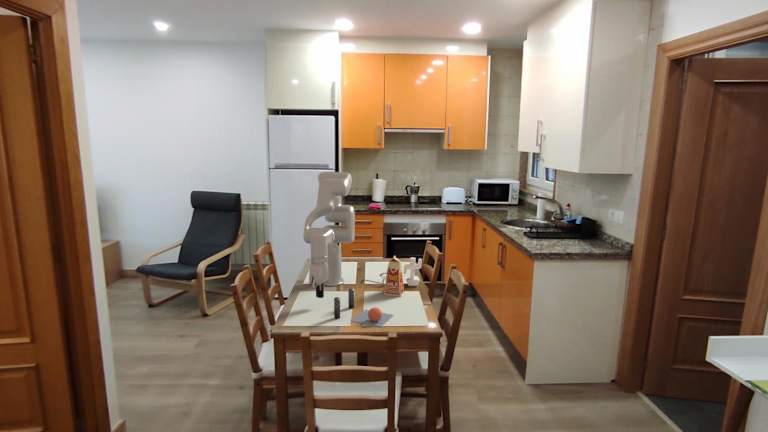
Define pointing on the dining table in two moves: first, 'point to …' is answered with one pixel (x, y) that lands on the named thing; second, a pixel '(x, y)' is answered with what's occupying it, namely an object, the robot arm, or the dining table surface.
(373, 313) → the ball
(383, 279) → the sunglasses
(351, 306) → the post
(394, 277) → the milk carton
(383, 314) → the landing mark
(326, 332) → the dining table surface
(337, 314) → the post
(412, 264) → the figurine
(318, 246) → the robot arm
